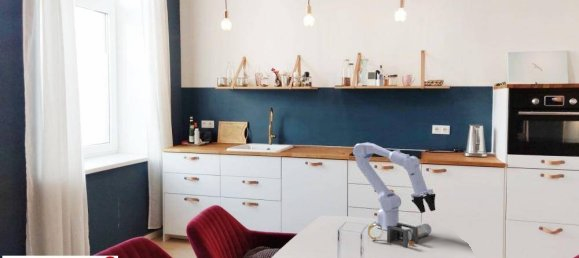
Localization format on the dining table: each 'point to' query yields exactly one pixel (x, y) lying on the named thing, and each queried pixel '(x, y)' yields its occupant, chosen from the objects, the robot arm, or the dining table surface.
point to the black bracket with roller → (396, 231)
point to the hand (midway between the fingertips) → (428, 211)
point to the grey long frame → (422, 231)
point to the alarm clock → (372, 227)
